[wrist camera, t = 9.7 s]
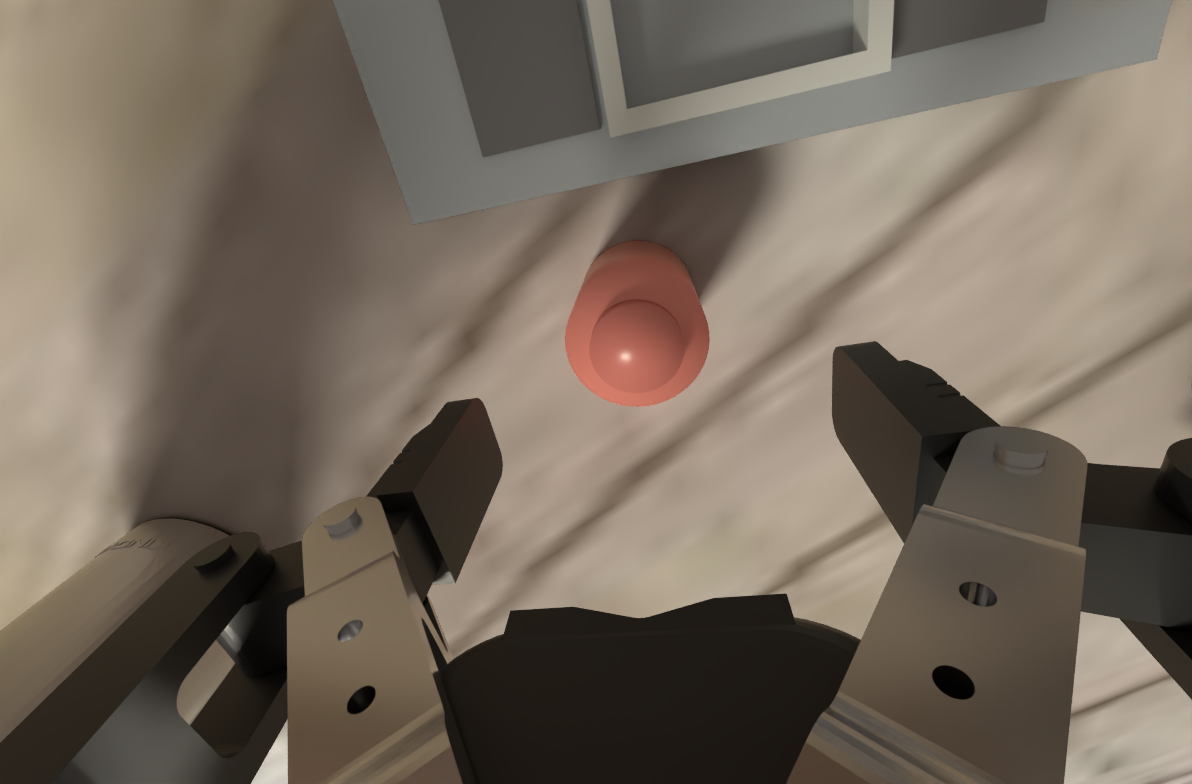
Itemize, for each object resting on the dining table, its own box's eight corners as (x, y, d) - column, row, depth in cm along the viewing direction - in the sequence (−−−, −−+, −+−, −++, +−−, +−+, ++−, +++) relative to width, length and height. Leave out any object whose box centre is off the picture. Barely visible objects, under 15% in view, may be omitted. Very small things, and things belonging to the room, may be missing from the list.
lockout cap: (699, 339, 20) (718, 404, 15) (594, 356, 21) (580, 424, 16) (685, 229, 18) (703, 263, 13) (570, 252, 19) (546, 292, 14)
